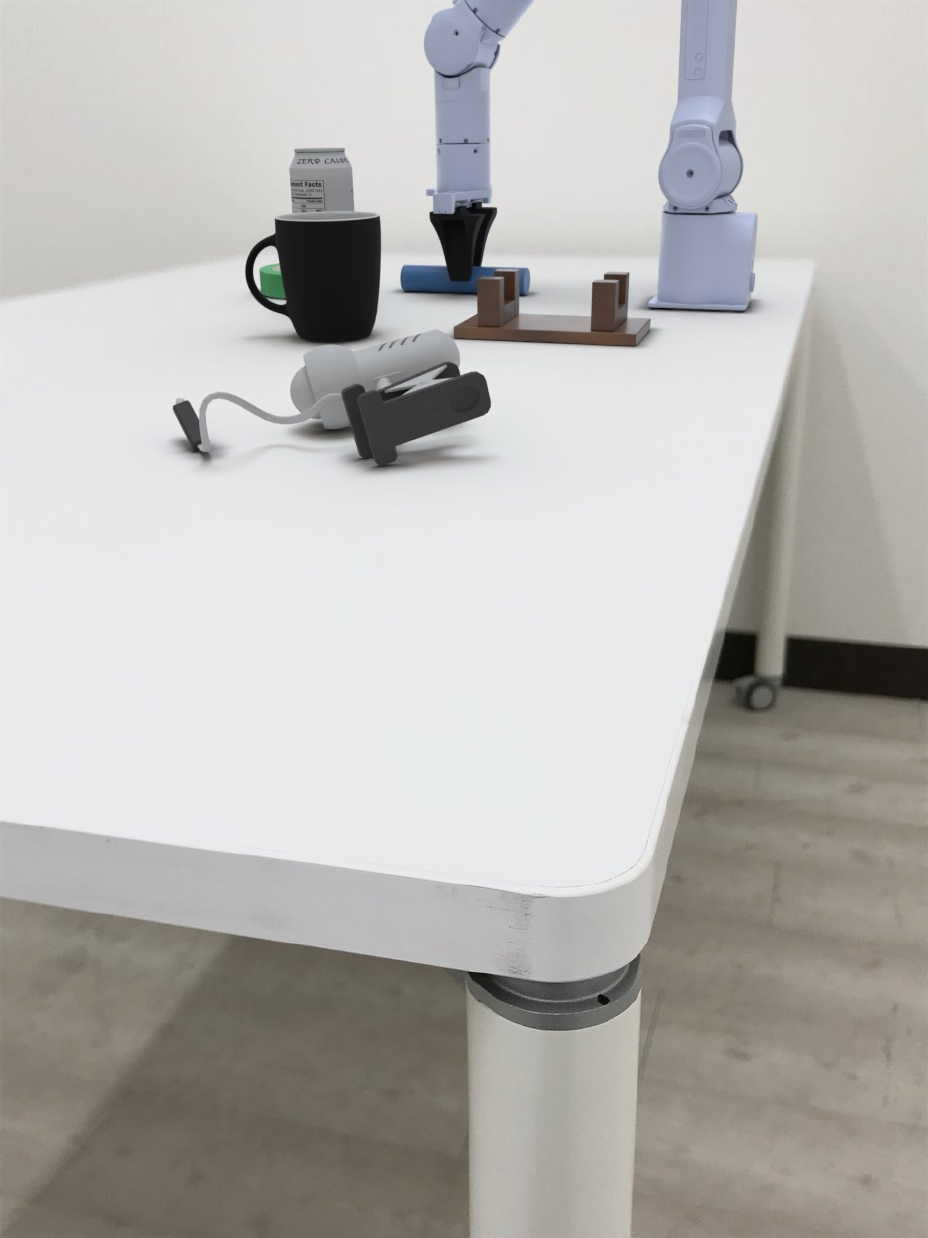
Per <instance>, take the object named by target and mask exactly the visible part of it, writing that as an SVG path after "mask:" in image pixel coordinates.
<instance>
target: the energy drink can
mask: <svg viewBox="0 0 928 1238" xmlns="http://www.w3.org/2000/svg"><path fill="white" fill-rule="evenodd" d="M293 151H294V156H293V158H292V161H291V163H290V166H289V168H288V171H289V182H290V184H289V185H290V198H291V199H290V200H291V211H292V212H291V214H293V213H306V212H330V211H353V212H355V198H354V197H355V196H354V195H355V194H354V178H353V176H354V175H353V166H352V164H351V162H350V160H349V159H348V156H347V155H346V153H345V151H346V148H345V147H304V148H303V147H301V148H294V150H293Z"/></svg>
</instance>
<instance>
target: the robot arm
mask: <svg viewBox="0 0 928 1238" xmlns="http://www.w3.org/2000/svg"><path fill="white" fill-rule="evenodd" d="M535 1H536V0H452V1H451V3H452V5H453V6H452V7H449V8H444V9H441V10H439V11H437V12H435V14H433V15H432V18H431V19H430V22H429V24H428V26H427V27H426V30H425V33H424V38H423V49H424V55H425V57H426V60H427V62H428V64H429V65H430V67H431V68H433V76H434V77H433V79H434V80H433V81H434V137H435V167H436V168H435V173H436V175H435V176H436V177H435V180H436V187H429V188H426V189H425V195H426V196H425V197H427V196H428V197H432V211H429V213H428V215H429V216H428V218H429V221H430V223H431V225H432V227H433V228H434V230H435V232H436V236H437V237H438V240H439V242H440V245H441V248H442V249H441V250H442V253H443V257H444V261H445V266H447V270H448V274H449V278H450V281H457V282H469V281H470V278H471V275H472V269H473V266H480V267H482V266H483V259H484V254H485V249H486V245H487V240H488V236H489V234H490V231H491V228H492V225H493V224H494V221H495V219H496V217H497V215H498V207H495V206H483V204H484V205H487V204H492V197H493V188H492V183H491V181H492V180H491V177H492V176H491V175H492V174H491V167H492V166H491V162H492V161H491V146H492V145H491V73H492V70H493V69H494V68H495V66H496V64H497V62H498V60H499V58H500V53H501V44H500V42H503V41H504V40H505V39H506V37H507V36H508V35H509V34H510V32H511V31H512V30H513V29H514V27H515V26H516V25H517V24H518V22H519V21H520V20H521V19H522V17H523V16H524V15H525V13H526V12H527V11H528V9H530V7H531V6H532V5H533V3H534V2H535ZM737 13H738V0H681V4H680V25H679V27H680V29H679V51H678V52H679V53H678V74H677V75H678V77H677V79H678V80H677V99H676V100H677V101H676V105H675V109H674V112H673V115H672V118H671V121H670V125H669V136H668V137H669V138H668V143H667V147H666V150H665V152H664V153H663V155H662V157H661V159H660V162H659V165H658V170H657V178H658V179H657V181H658V186H659V189H660V191H661V193H662V195H663V196H664V198H665V199H666V202H665V203H664V204H661V210H662V211H661V220H660V237H659V252H658V253H659V254H658V256H659V257H658V269H657V270H658V272H657V273H658V274H657V286H656V287H657V288H656V294H655V295H654V296H653V297H652V298H651V299H650V300H649V301H648V302H647V307H648V308H654V309H655V308H657V309H659V308H660V309H683V310H685V309H689V310H717V311H719V310H721V311H746V310H747V308H748V307H749V304H750V302H751V300H752V293H753V292H754V290H755V283H756V273H755V272H754V269H755V268H754V267H755V258H756V257H755V256H756V248H757V247H756V246H757V233H758V213H756V212H751V211H750V212H747V211H746V212H745V211H743V212H741V211H738V202H736V200H735V198H734V195H732V194H733V193H734V192H735V191H736V190H737V188H738V187H739V185H740V183H741V181H742V178H743V174H744V167H745V164H744V157H743V154H742V152H741V149H740V147H739V145H738V142H737V118H736V114H735V109H734V106H733V101H732V99H733V98H732V97H733V84H734V83H733V81H734V66H735V65H734V63H735V50H736V49H735V48H736V47H735V46H736V30H737Z"/></svg>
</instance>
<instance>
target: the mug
mask: <svg viewBox="0 0 928 1238" xmlns="http://www.w3.org/2000/svg"><path fill="white" fill-rule="evenodd" d="M380 215H381V214H379V213H376V212H370V211H354V212H353V211H330V212H306V213H286V214H280V215H276V216H275V217H274V230H275V231H274V233H273V234H271V235H268V236H266V237H265V238H262V239H261V240H259V242H257V243H255V245H253V247H252V249H250V251H249V254H248V255H247V257H246V260H245V261H246V262H245V268H244V275H245V281H246V285H247V287H248V290H249V292H250V294H251V295H252V296H253V298H254V300H256V301H257V302H258V303H259V304H260V305H261V306H262V307H263V308H265V309H267V310H269V311H271V312H274V313H277V314H280V315H283V316H285V317H287V319H288V318H289V320H290V322H291V324H292V326H293V329H294V331H295V332H296V334H297V335H298V338H300V339H301V340H303V341H306V342H310V343H321V344H335V343H337V344H339V343H349V342H356V341H360V340H364V339H366V338H368V337H370V336H371V334H372V332H373V330H374V327H375V323H376V319H377V315H378V309H379V298H380V288H381V272H382V271H381V270H382V269H381V267H382V224H381V216H380ZM268 247H274V249H275V250H276V252H277V257H278V263H279V264H280V270H281V276H282V282H283V287H284V293H285V297H286V299H285V303H284V304H279V303H276V302H273V301H271V300H270V299H268V298H267V296H265V295H263V294H262V293H261V290H260V289H259V288H258V285H257V283H256V279H255V275H254V267H255V262H256V259H257V258H258V256H259V255H260V253H261V252H262V251H263V250H265V249H266V248H268Z"/></svg>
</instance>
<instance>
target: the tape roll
mask: <svg viewBox="0 0 928 1238" xmlns="http://www.w3.org/2000/svg"><path fill="white" fill-rule="evenodd" d="M258 273H259V282H260V292H261V293H262V295H263V296H265V297H269V298H275V299H283V300H286V297H285V293H284V287H283V282H282V276H281V270H280V264H279V262H278V263H271V264H267V265H264V266H262V267H260V268H259V272H258Z"/></svg>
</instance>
